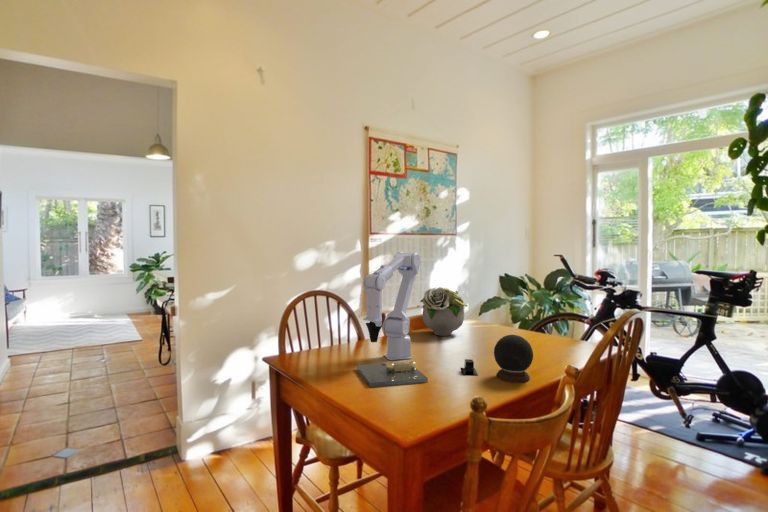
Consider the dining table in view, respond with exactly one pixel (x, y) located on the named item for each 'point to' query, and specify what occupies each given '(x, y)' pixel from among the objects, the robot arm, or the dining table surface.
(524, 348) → the spherical smart speaker
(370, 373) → the lock plate
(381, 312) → the robot arm
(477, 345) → the dining table surface
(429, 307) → the flower arrangement
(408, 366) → the lever
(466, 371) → the black block on base
